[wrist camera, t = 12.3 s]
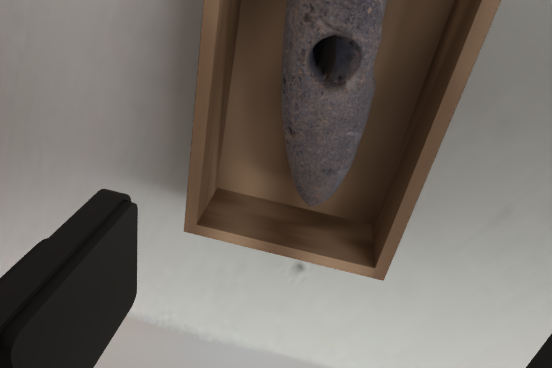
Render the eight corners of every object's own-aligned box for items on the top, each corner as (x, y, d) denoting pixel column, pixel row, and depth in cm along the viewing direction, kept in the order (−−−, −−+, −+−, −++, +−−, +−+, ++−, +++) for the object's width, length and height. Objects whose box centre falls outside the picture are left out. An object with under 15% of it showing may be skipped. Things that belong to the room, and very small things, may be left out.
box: (505, -102, 22) (550, -117, 17) (378, 231, 32) (383, 280, 28) (248, -154, 22) (219, -183, 17) (208, 190, 33) (183, 231, 28)
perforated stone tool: (351, 185, 30) (351, 243, 24) (278, 175, 31) (261, 229, 25) (396, -55, 23) (411, -56, 17) (299, -63, 23) (281, -66, 17)
